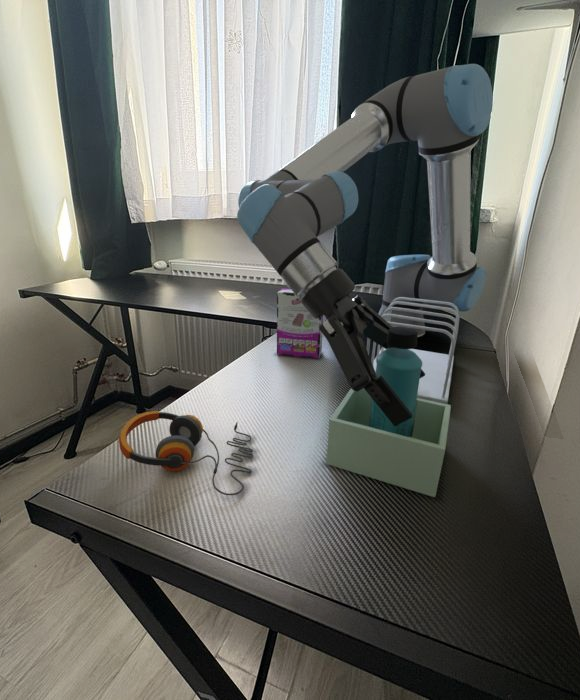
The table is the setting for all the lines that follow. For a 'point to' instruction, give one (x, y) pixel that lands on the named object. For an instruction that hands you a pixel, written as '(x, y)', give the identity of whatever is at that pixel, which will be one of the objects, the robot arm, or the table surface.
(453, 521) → the table surface
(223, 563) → the table surface
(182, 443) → the headphones
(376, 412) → the beverage bottle
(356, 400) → the basket
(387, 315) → the file sorter
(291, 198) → the robot arm
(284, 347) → the candy bar box
